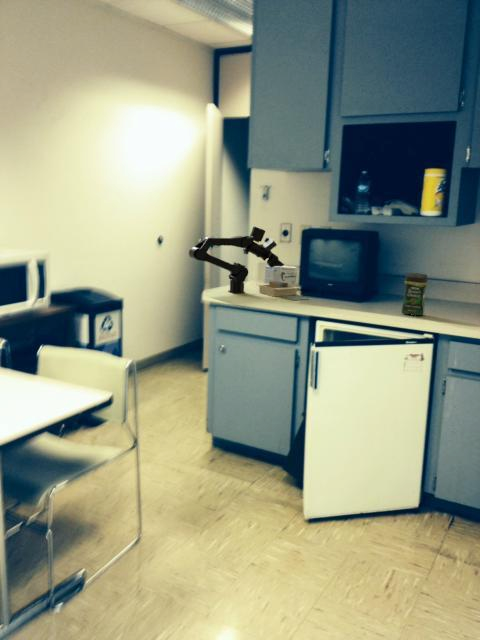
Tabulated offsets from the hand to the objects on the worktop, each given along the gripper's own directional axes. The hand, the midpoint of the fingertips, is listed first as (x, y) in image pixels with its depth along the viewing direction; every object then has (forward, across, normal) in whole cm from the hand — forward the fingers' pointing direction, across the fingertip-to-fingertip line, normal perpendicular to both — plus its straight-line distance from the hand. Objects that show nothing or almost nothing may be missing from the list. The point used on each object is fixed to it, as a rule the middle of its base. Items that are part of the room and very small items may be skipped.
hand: (280, 261), depth 327 cm
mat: (+3, -28, +8) cm, 29 cm away
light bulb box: (+15, +17, +16) cm, 28 cm away
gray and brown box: (+1, -13, +13) cm, 19 cm away
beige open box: (+1, -13, +13) cm, 18 cm away
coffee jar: (+31, -72, -19) cm, 80 cm away
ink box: (+16, +5, +12) cm, 21 cm away
